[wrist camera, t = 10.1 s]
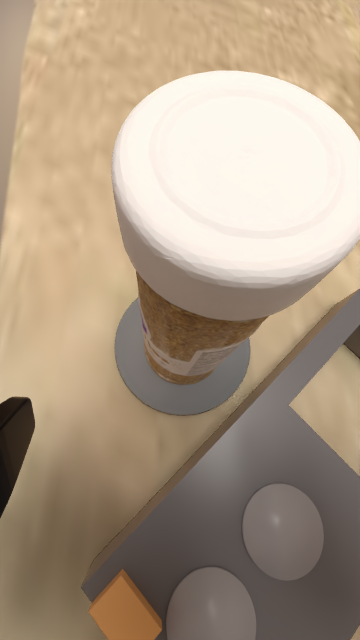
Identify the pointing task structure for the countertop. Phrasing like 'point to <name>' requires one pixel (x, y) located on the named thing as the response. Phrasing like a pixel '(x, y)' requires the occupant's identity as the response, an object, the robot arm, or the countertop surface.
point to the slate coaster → (162, 391)
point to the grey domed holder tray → (246, 525)
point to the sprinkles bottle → (230, 210)
